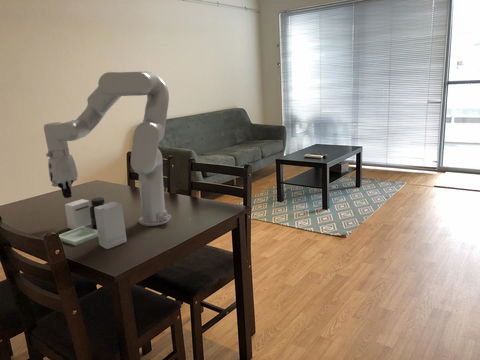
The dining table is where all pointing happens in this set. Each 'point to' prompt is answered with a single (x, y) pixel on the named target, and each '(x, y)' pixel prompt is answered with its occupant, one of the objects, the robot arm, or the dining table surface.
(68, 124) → the robot arm
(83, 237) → the tray
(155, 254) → the dining table surface
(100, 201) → the supplement bottle
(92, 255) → the dining table surface
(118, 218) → the skincare box
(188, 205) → the dining table surface
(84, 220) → the unit
